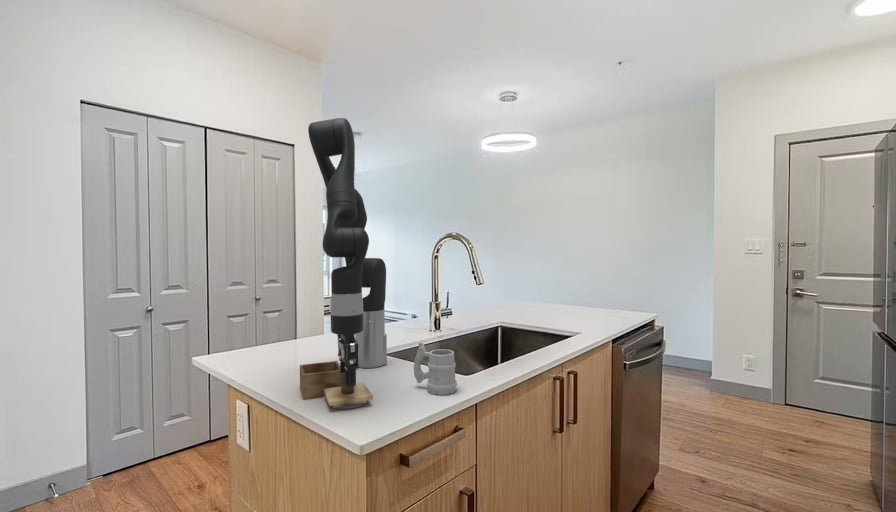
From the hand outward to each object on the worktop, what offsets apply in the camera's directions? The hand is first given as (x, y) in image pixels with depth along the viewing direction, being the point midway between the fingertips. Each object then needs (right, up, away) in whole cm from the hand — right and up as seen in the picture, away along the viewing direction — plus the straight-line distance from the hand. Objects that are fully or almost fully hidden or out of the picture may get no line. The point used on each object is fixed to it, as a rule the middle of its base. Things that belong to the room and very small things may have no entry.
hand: (347, 381), depth 102 cm
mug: (+20, -5, +9) cm, 23 cm away
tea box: (-9, -5, +8) cm, 13 cm away
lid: (0, -3, 0) cm, 3 cm away
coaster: (0, -5, 0) cm, 5 cm away
